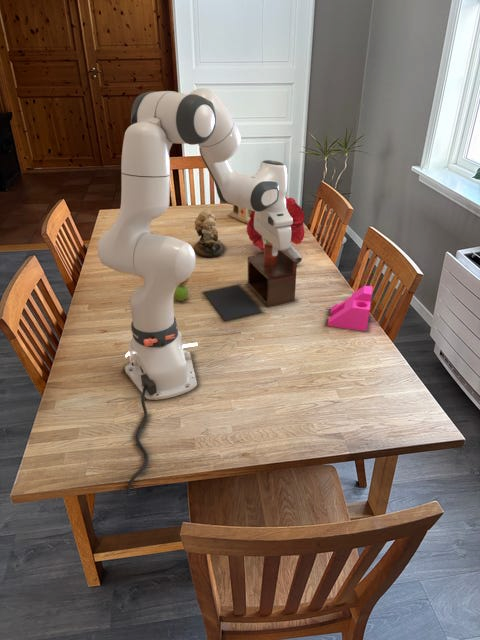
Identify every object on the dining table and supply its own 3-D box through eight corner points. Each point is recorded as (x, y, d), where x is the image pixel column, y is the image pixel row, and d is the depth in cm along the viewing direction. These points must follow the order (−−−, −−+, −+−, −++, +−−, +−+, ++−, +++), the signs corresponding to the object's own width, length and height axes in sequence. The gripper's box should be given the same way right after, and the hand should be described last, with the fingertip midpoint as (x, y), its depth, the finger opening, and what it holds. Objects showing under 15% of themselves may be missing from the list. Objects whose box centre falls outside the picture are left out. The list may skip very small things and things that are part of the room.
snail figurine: (189, 304, 167) (187, 272, 160) (170, 302, 168) (168, 270, 161) (193, 296, 171) (191, 265, 165) (175, 294, 172) (173, 263, 166)
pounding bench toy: (283, 222, 230) (285, 184, 220) (260, 229, 222) (261, 190, 212) (251, 208, 245) (251, 172, 235) (228, 215, 237) (228, 178, 227)
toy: (278, 265, 167) (279, 238, 162) (267, 268, 166) (268, 240, 160) (272, 260, 170) (273, 233, 165) (261, 263, 169) (262, 235, 163)
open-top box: (294, 300, 169) (297, 261, 161) (268, 306, 166) (269, 266, 158) (272, 279, 182) (273, 241, 174) (247, 284, 179) (247, 246, 171)
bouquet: (313, 270, 203) (283, 215, 214) (330, 235, 182) (296, 175, 194) (266, 284, 196) (237, 226, 208) (278, 248, 176) (245, 186, 187)
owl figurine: (227, 258, 198) (226, 217, 188) (197, 260, 196) (195, 219, 187) (220, 240, 213) (219, 201, 203) (193, 242, 211) (191, 203, 202)
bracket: (368, 314, 162) (372, 286, 156) (366, 331, 153) (371, 302, 148) (331, 309, 164) (334, 281, 159) (327, 325, 156) (330, 297, 151)
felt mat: (261, 312, 163) (261, 311, 162) (225, 321, 158) (225, 320, 158) (237, 285, 178) (237, 284, 178) (203, 292, 174) (203, 291, 174)
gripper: (249, 203, 165) (249, 242, 172) (277, 224, 149) (275, 266, 157) (266, 200, 167) (265, 239, 175) (295, 221, 151) (293, 262, 159)
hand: (270, 252), depth 165 cm, fingers closed on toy, 4 cm apart
